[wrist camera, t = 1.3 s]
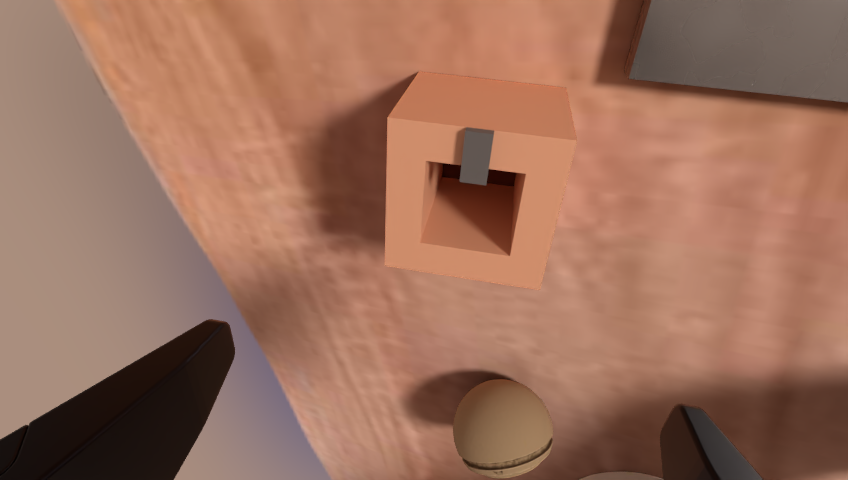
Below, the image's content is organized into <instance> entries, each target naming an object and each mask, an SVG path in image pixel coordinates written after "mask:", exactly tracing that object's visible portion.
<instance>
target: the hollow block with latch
mask: <svg viewBox="0 0 848 480" xmlns="http://www.w3.org/2000/svg"><path fill="white" fill-rule="evenodd" d="M576 144H577V137H576V132H575V128H574V123H573V118H572V113H571V109H570V104H569V99H568V94H567V90H566V88H563V87H554V86H545V85H536V84H527V83H518V82H509V81H500V80H491V79H482V78H473V77H464V76H455V75H446V74H437V73H428V72H418V74H417V75H416V77H415V78H414V80H413V81H412V82H411V84H410V85H409V87H408V88H407V90H406V91H405V93H404V94H403V96H402V97H401V98H400V100H399V101H398V103H397V104H396V106H395V107H394V109H393V110H392V112H391V113H390V114H389V116H388V117H387V168H386V221H385V266H389V267H396V268H402V269H408V270H415V271H421V272H427V273H434V274H440V275H447V276H453V277H459V278H466V279H472V280H478V281H485V282H491V283H497V284H504V285H510V286H516V287H523V288H529V289H536V290H540V288H541V284H542V280H543V276H544V272H545V268H546V264H547V260H548V256H549V252H550V248H551V244H552V240H553V236H554V232H555V228H556V224H557V220H558V216H559V212H560V208H561V204H562V200H563V196H564V192H565V188H566V184H567V180H568V176H569V172H570V168H571V164H572V160H573V156H574V152H575V148H576ZM443 163H447V164H454V165H461V173H460V179H454V178H447V177H442V169H443ZM489 169H492V170H500V171H508V172H515V173H516V177H515V183H514V187H513V186H506V185H498V184H491V183H487V177H488V171H489Z"/></svg>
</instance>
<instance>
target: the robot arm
mask: <svg viewBox="0 0 848 480" xmlns="http://www.w3.org/2000/svg"><path fill="white" fill-rule="evenodd" d="M234 355H235V347H234V342H233V338H232V334H231V329H230V325H229V324H228V323H227V322H224V321H218V320H213V319H209V320H206V321H204V322H202V323H201V324H199V325H197V326H195V327H194V328H192V329H190V330H188V331H187V332H185V333H183V334H182V335H180V336H178V337H176V338H175V339H173V340H171V341H170V342H168V343H166V344H164V345H163V346H161V347H159V348H158V349H156V350H154V351H152V352H151V353H149V354H147V355H145V356H144V357H142V358H140V359H139V360H137V361H135V362H133V363H132V364H130V365H128V366H126V367H125V368H123V369H121V370H120V371H118V372H116V373H114V374H113V375H111V376H109V377H107V378H106V379H104V380H103V381H101V382H99V383H97V384H96V385H94V386H92V387H90V388H89V389H87V390H85V391H83V392H82V393H80V394H78V395H77V396H75V397H73V398H71V399H70V400H68V401H66V402H64V403H63V404H61V405H59V406H58V407H56V408H54V409H52V410H51V411H49V412H47V413H45V414H44V415H42V416H40V417H39V418H37V419H35V420H33V421H32V422H30V424H29V426H28V425H25V426H23V427H21V428H19V429H18V430H16V431H14V432H12V433H11V434H9V435H7V436H6V437H4V438H2V439H0V480H174V478H175V476H176V474H177V473H178V471H179V469H180V467H181V466H182V464H183V462H184V461H185V459H186V457H187V455H188V454H189V452H190V450H191V448H192V447H193V445H194V443H195V441H196V440H197V438H198V436H199V434H200V432H201V431H202V429H203V427H204V425H205V423H206V421H207V419H208V416H209V414H210V412H211V410H212V407H213V405H214V403H215V400H216V398H217V396H218V394H219V391H220V389H221V387H222V385H223V382H224V380H225V378H226V376H227V373H228V371H229V369H230V366H231V364H232V362H233V359H234ZM660 447H661V458H662V469H663V480H764V479H763V478H762V477H761V476H760V475H759V474H758V473H757V471H756V470H755V469H754V468H753V467H752V466H751V465H750V463H749V462H748V461H747V460H746V459H745V458H744V456H743V455H742V454H741V453H740V452H739V451H738V450H737V448H736V447H735V446H734V445H733V444H732V443H731V442H730V440H729V439H728V438H727V437H726V436H725V435H724V434H723V432H722V431H721V430H720V429H719V428H718V427H717V425H716V424H715V423H714V422H713V421H712V420H711V419H710V417H709V416H708V415H707V414H706V413H705V412H704V411H703V410H702V409H701V408H699V407H696V406H691V405H685V404H677V405H675V406H674V408H673V409H672V411H671V413H670V415H669V417H668V418H667V420H666V422H665V424H664V426H663V428H662V430H661V434H660Z"/></svg>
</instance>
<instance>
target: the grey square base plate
mask: <svg viewBox="0 0 848 480" xmlns="http://www.w3.org/2000/svg"><path fill="white" fill-rule="evenodd" d="M624 72H625V73H626V75H627V77H628V79H635V80H645V81H654V82H663V83H672V84H682V85H691V86H700V87H710V88H719V89H728V90H737V91H747V92H756V93H765V94H774V95H784V96H793V97H802V98H811V99H821V100H830V101H839V102H848V0H644V1H643V5H642V9H641V12H640V16H639V19H638V23H637V26H636V30H635V33H634V37H633V40H632V44H631V47H630V51H629V55H628V58H627V62H626V65H625V69H624Z"/></svg>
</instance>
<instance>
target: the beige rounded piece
mask: <svg viewBox="0 0 848 480" xmlns="http://www.w3.org/2000/svg"><path fill="white" fill-rule="evenodd" d="M453 435H454V442H455V445H456V448H457V451H458V453H459V455H460V456H461V457H462V459H463V462H464V463H465V465H466V466H467V467H468V468H469V469H470V470H471V471H473V472H475V473H478V474H482V475H484V476H487V477H491V478H509V477H514V476H519V475H522V474H524V473H527V472H529V471H531V470H533V469H534V468H535V467H537V466H538V465H539V464H540V463H541V461H542V460H544V459H545V458H546V457H547V456H548V455H549V453H550V451H551V448H552V443H553V439H552V435H553V427H552V422H551V418H550V415H549V413H548V410H547V408H546V406H545V405H544V403H543V402H542V400H541V399H540V398H539V397H538V396H537V395H536V394H535V393H534V392H533V391H532V390H530V389H529V388H528V387H526V386H524V385H522V384H520V383H518V382H515V381H511V380H506V379H495V380H489V381H486V382H483V383H481V384H479V385H477V386H475V387H474V388H473V389H471V390H470V391H469V392H468V393H467V394H466V395H465V396H464V398H463V399H462V400H461V402H460V404H459V406H458V408H457V410H456V413H455V417H454V423H453Z"/></svg>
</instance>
